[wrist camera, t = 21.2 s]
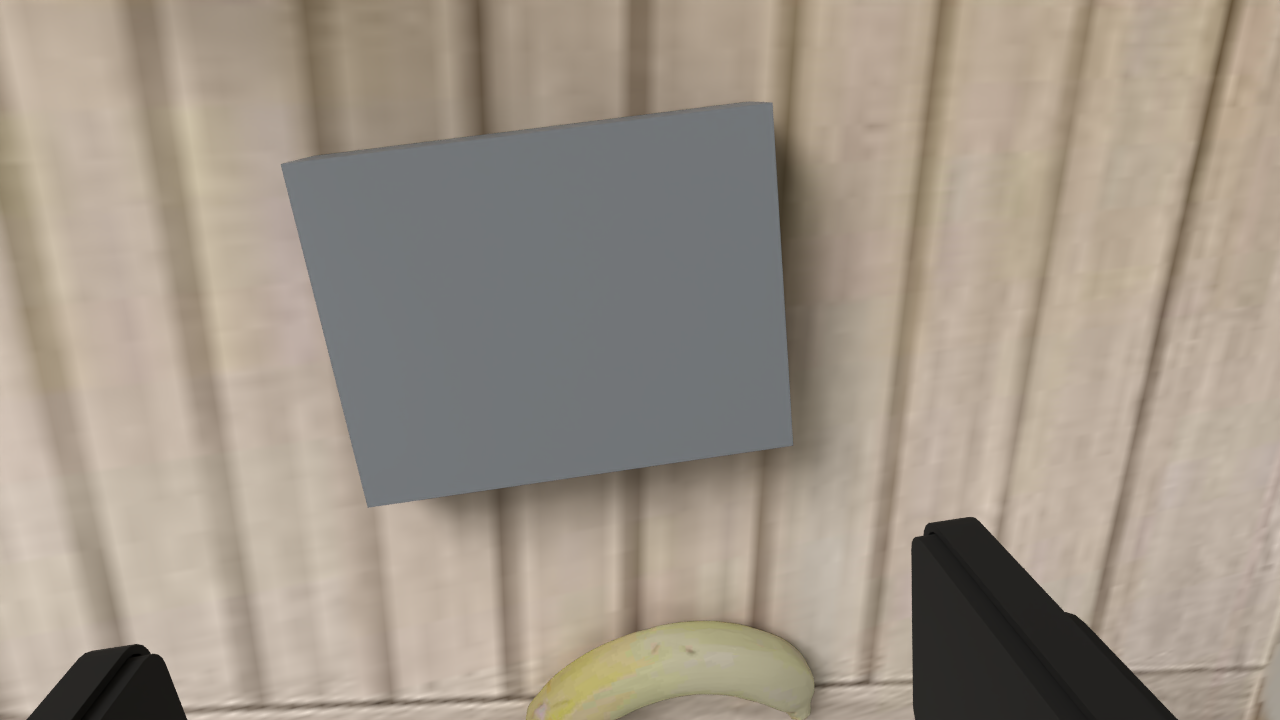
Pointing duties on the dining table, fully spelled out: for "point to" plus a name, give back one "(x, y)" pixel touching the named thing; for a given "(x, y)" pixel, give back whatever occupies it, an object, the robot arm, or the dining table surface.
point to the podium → (551, 299)
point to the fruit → (678, 672)
